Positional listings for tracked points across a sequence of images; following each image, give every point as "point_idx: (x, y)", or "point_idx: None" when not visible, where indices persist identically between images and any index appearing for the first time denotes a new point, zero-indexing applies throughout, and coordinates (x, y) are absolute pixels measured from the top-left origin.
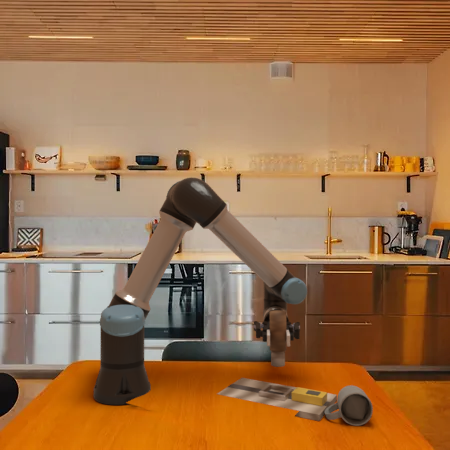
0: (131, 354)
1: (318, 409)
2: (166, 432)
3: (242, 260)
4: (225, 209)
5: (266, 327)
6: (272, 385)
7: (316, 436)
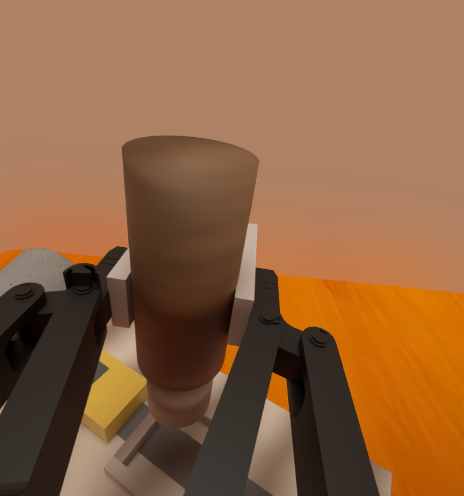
0: None
1: (106, 335)
2: (399, 313)
3: None
4: None
5: (253, 372)
6: None
7: None
